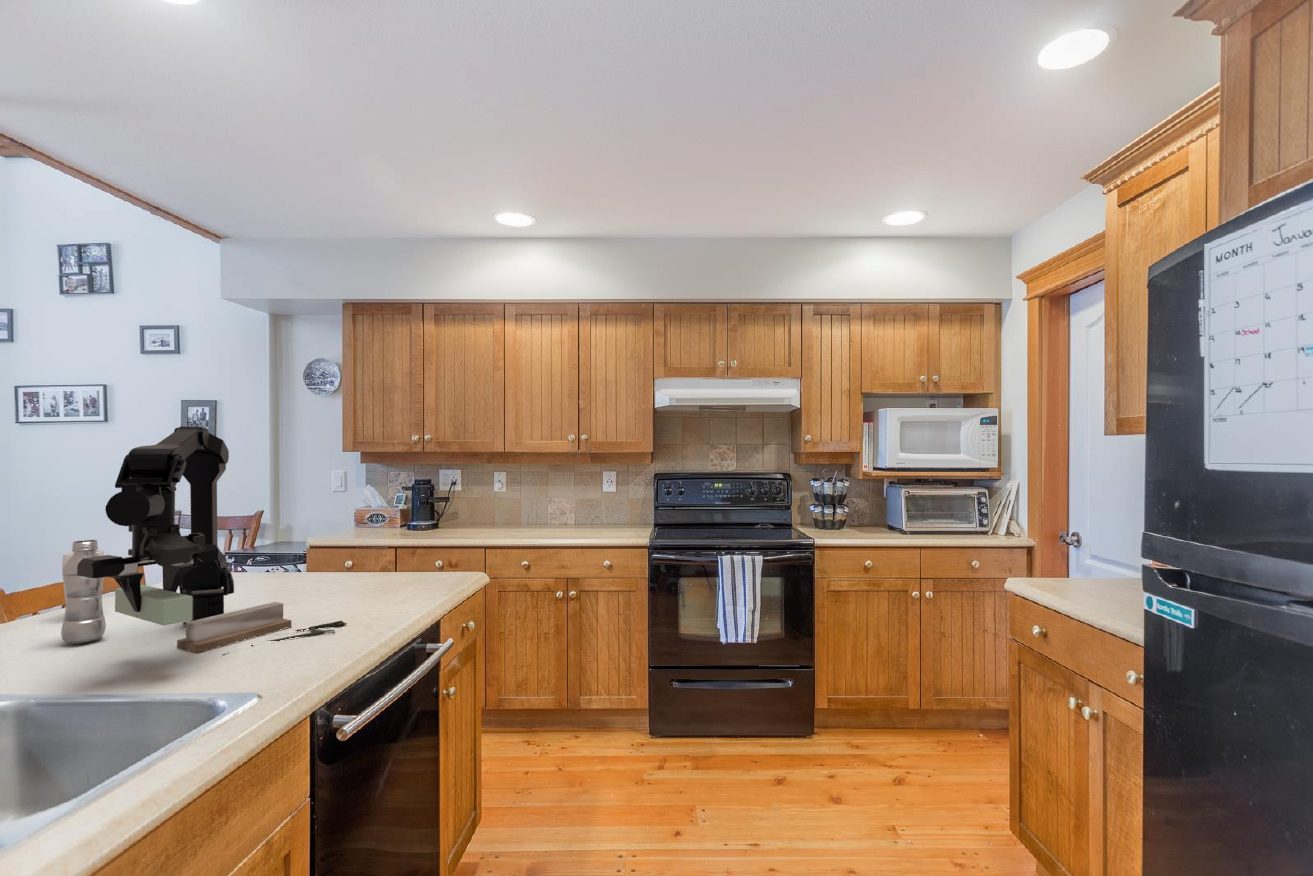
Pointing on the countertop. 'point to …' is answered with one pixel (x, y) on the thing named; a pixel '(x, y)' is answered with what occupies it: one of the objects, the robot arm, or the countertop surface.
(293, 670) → the countertop surface
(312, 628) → the brown tree branch
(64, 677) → the countertop surface
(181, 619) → the bar
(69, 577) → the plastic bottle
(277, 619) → the ridge stand
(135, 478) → the robot arm
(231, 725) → the countertop surface
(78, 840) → the countertop surface
